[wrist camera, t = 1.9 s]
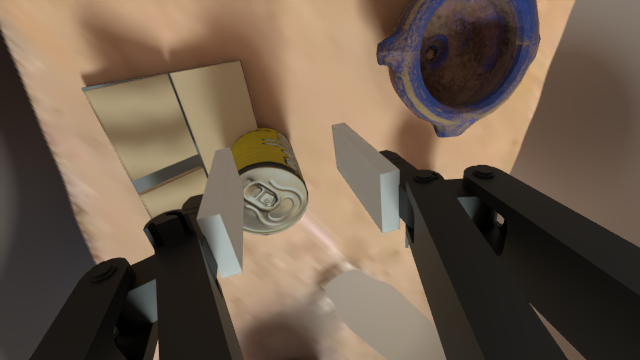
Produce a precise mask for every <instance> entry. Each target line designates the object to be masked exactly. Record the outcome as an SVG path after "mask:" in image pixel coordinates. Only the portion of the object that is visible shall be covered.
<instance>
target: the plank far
mask: <svg viewBox="0 0 640 360" xmlns="http://www.w3.org/2000/svg"><path fill="white" fill-rule="evenodd" d="M207 180H208V179H207V176H206V174H205V171H204V169H203V167H201V166H198V167H196V168H193V169H191V170H189V171H187V172H184V173H182V174H180V175H178V176H176V177H173V178H171V179H169V180H167V181H164V182H162V183H160V184H158V185H155V186H153V187H151V188H149V189H146V190H144V191H142V192H140V193H138V195H139V197H140V199H141V201H142V202H143V204H144V206H145V208H146V210H147V212H148V214H149V215H150V217H151V219H152V218H154V217H155V216H157V215H159V214H162V213H164V212H167V211H170V210H176V209H182V206H183V204H184V203H185V202H186V201H187V200H188V199H189V198H190V197H191V196H196V195H200V194H204V190H205V187H206V183H207Z"/></svg>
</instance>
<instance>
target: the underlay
mask: <svg viewBox="0 0 640 360" xmlns="http://www.w3.org/2000/svg"><path fill="white" fill-rule="evenodd" d="M163 74H167V75H168V77H169V80H170V83H171V85H172V88H173V90H174V93H175V96H176V98H177V101H178V103H179V106H180V109H181V111H182V114H183V116H184V119H185V122H186V124H187V127H188V129H189V132H190V135H191V137H192V140H193V143H194V145H195V148H196V150H197V153H198V154H197V155H194V156H192V157H189V158H187V159H185V160H182V161H180V162H177V163H175V164H173V165H170V166H168V167H165V168H163V169H161V170H158V171H156V172H153V173H151V174H149V175H146V176H144V177H141V178H139V179H136V180H134V181H132V180H131V179H130V180H131V182H132V184H133V186H134V188H135V189H136V191H137V193H140V192H142V191H144V190H146V189H149V188H151V187H153V186H155V185H158V184H160V183H162V182H164V181H167V180H169V179H171V178H173V177H176V176H178V175H180V174H182V173H184V172H187V171H189V170H191V169H193V168H196V167H198V166H201V167H203V169H204V171H205V174H206V176H207V179H208V176H209V172H210V169H211V165H212V161H213V158H214V154H215V151H216V150H219V149H224V148H228V147H230V149H232V147H233V145H234V143H235V142H236V141H237V140H238V139H239V137H241V136H242V135H244V134H246V133H247V132H250V131H254V130H258V129H257V128H258V127H257V123H256V119H255V115H254V111H253V107H252V104H251V100H250V96H249V92H248V88H247V84H246V80H245V76H244V73H243V69H242V65H241V61H240V60H238V61H232V62H226V63H220V64H215V65H209V66H203V67H197V68H191V69H186V70H180V71H174V72H168V73H163ZM157 75H162V74H157ZM157 75H151V76H145V77H139V78H134V79H128V80H122V81H116V82H110V83H105V84H99V85H93V86H87V87H84V88H81V89H82V91H86V90H91V89H96V88H100V87H105V86H110V85H115V84H119V83H124V82H129V81H134V80H138V79H143V78H148V77H153V76H157ZM89 104H90V103H89ZM104 132H105V131H104ZM119 160H120V159H119ZM149 216H150V215H149Z"/></svg>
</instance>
